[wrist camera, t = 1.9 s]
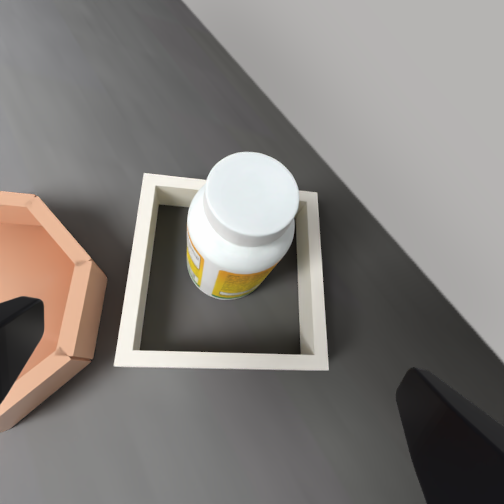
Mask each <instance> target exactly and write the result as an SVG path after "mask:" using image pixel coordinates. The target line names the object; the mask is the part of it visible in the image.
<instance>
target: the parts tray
mask: <svg viewBox="0 0 504 504" xmlns="http://www.w3.org/2000/svg"><path fill="white" fill-rule="evenodd" d="M206 181H207V180H201V179H192V178H183V177H174V176H166V175H157V174H148V173H144V177H143V183H142V189H141V196H140V202H139V208H138V215H137V221H136V227H135V234H134V240H133V246H132V253H131V259H130V266H129V272H128V278H127V285H126V291H125V297H124V304H123V310H122V316H121V323H120V329H119V335H118V342H117V348H116V355H115V361H114V366H117V367H145V368H199V369H253V370H307V371H319V370H329V365H328V350H327V334H326V319H325V304H324V288H323V273H322V258H321V242H320V227H319V212H318V196H317V193H316V192H308V191H299V206H298V210H297V213H296V215H295V217H294V218H296V241H297V268H298V295H299V323H300V350H301V355H291V354H253V353H216V352H178V351H141V350H140V343H141V336H142V328H143V320H144V313H145V305H146V298H147V290H148V283H149V275H150V268H151V260H152V253H153V245H154V238H155V230H156V223H157V215H158V207H159V204H160V205H171V206H181V207H190V204H191V202H192V200H193V198H194V196H195V195H196V193H197V192H198V191H199V189H200V188H201V187H202V186H203V185H205V184H206Z"/></svg>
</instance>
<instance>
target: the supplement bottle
mask: <svg viewBox="0 0 504 504" xmlns="http://www.w3.org/2000/svg"><path fill="white" fill-rule="evenodd" d="M298 206H299V190H298V186H297V184H296V181H295V179H294V177H293V176H292V174H291V173H290V172H289V170H288V169H287V168H286V167H285V166H284V165H283V164H281V163H280V162H279V161H277V160H275V159H274V158H272V157H270V156H267V155H264V154H261V153H256V152H239V153H235V154H232V155H229V156H227V157H225V158H224V159H222V160H221V161H219V162H218V163H217V164H216V165H215V166H214V167H213V169H212V170H211V171H210V173H209V175H208V178H207V181H206V184H205V185H203V186H202V187H201V188H200V189H199V191H198V192H197V193H196V195H195V196H194V198H193V200H192V202H191V204H190V207H189V211H188V218H187V267H188V271H189V274H190V276H191V279H192V280H193V282H194V283H195V285H196V286H197V287H198V288H199V289H200V290H201V291H203V292H204V293H205V294H207V295H209V296H211V297H214V298H216V299H221V300H232V299H238V298H241V297H244V296H246V295H248V294H250V293H251V292H253V291H254V290H255V289H256V288H257V287H258V286H259V285H260V284H261V283H262V281H263V280H264V279H265V278H266V276H267V275H268V274H269V273H270V272H271V271H272V269H273V268H274V267H275V266H276V265H277V264H278V263H279V261H280V260H281V259H282V258H283V257H284V255H285V254H286V252H287V251H288V249H289V247H290V245H291V243H292V240H293V236H294V229H295V222H294V217H295V215H296V213H297V210H298Z"/></svg>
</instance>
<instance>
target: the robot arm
mask: <svg viewBox="0 0 504 504" xmlns="http://www.w3.org/2000/svg"><path fill="white" fill-rule="evenodd" d="M44 328H45V326H44V303H43V301H42V300H41V299H38V298H33V297H28V296H20V297H17V298H14V299H11V300H8V301H5V302H2V303H0V404H1V403H2V402H3V400H4V399H5V397H6V396H7V394H8V393H9V391H10V389H11V388H12V386H13V384H14V383H15V381H16V380H17V378H18V376H19V375H20V373H21V371H22V370H23V368H24V366H25V365H26V363H27V362H28V360H29V358H30V357H31V355H32V353H33V352H34V350H35V348H36V347H37V345H38V344H39V342H40V340H41V339H42V336H43V333H44ZM396 401H397V405H398V409H399V413H400V417H401V421H402V425H403V429H404V433H405V436H406V440H407V444H408V448H409V452H410V455H411V459H412V462H413V465H414V468H415V471H416V474H417V477H418V480H419V483H420V486H421V488H422V491H423V494H424V497H425V500H426V503H427V504H504V427H503V426H502V425H501V424H499V423H498V422H497V421H495V420H494V419H493V418H491V417H490V416H489V415H487V414H486V413H485V412H483V411H482V410H481V409H479V408H478V407H477V406H475V405H474V404H473V403H471V402H470V401H469V400H467V399H466V398H465V397H463V396H462V395H461V394H459V393H458V392H457V391H455V390H454V389H453V388H451V387H450V386H449V385H447V384H446V383H445V382H443V381H442V380H441V379H439V378H438V377H436V376H435V375H434V374H432V373H431V372H430V371H428V370H426V369H420V368H415V367H413V368H410V369H409V370H408V371H407V372H406V374H405V376H404V378H403V380H402V381H401V383H400V385H399V387H398V388H397V391H396Z"/></svg>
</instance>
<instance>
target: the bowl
mask: <svg viewBox="0 0 504 504" xmlns="http://www.w3.org/2000/svg"><path fill="white" fill-rule="evenodd" d="M106 277H107V276H106V275H105V274H104V273H103V271H102V270H101V269H100V268H99V267H98V265H97V264H96V263H95V262H94V261H93V260H92V258H91V257H90V256H89V255H88V254H87V253H86V251H85V250H84V249H83V248H82V247H81V246H80V244H79V243H78V242H77V241H76V240H75V239H74V237H73V236H72V235H71V234H70V233H69V232H68V230H67V229H66V228H65V227H64V226H63V225H62V223H61V222H60V221H59V220H58V219H57V218H56V217H55V215H54V214H53V213H52V212H51V211H50V210H49V208H48V207H47V206H46V205H45V204H44V203H43V201H42V200H41V199H40V198H39V197H38V196H36V195H34V194H24V193H14V192H4V191H0V303H2V302H5V301H8V300H11V299H14V298H17V297H20V296H28V297H33V298H38V299H41V300H42V301H43V303H44V326H45V328H44V333H43V336H42V339H41V340H40V342H39V344H38V345H37V347H36V348H35V350H34V352H33V353H32V355H31V357H30V358H29V360H28V362H27V363H26V365H25V366H24V368H23V370H22V371H21V373H20V375H19V376H18V378H17V380H16V381H15V383H14V384H13V386H12V388H11V389H10V391H9V393H8V394H7V396H6V397H5V399H4V400H3V402H2V403H1V404H0V432H3V431H6V430H9V429H10V428H12V427H13V426H14V425H15V424H17V423H18V422H19V421H20V420H21V419H23V418H24V417H25V416H26V415H28V414H29V413H30V412H31V411H32V410H34V409H35V408H36V407H37V406H38V405H40V404H41V403H42V402H43V401H45V400H46V399H47V398H48V397H49V396H51V395H52V394H53V393H54V392H55V391H57V390H58V389H59V388H60V387H62V386H63V385H64V384H65V383H66V382H68V381H69V380H70V379H71V378H72V377H74V376H75V375H76V374H77V373H79V372H80V371H81V370H82V369H83V368H85V367H86V366H87V365H88V364H89V363H91V361H90V359H93V357H94V351H95V346H96V340H97V335H98V329H99V324H100V318H101V313H102V307H103V301H104V296H105V290H106V285H107V278H106Z"/></svg>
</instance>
